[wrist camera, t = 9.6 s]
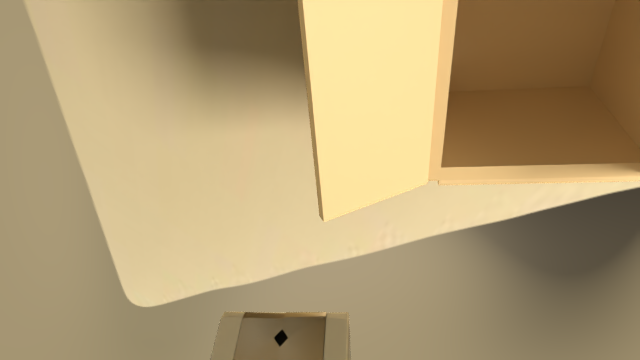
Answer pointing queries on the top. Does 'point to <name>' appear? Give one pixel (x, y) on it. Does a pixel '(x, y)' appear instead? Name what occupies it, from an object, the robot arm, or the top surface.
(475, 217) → the top surface
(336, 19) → the flap
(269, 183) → the top surface
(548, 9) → the carton
